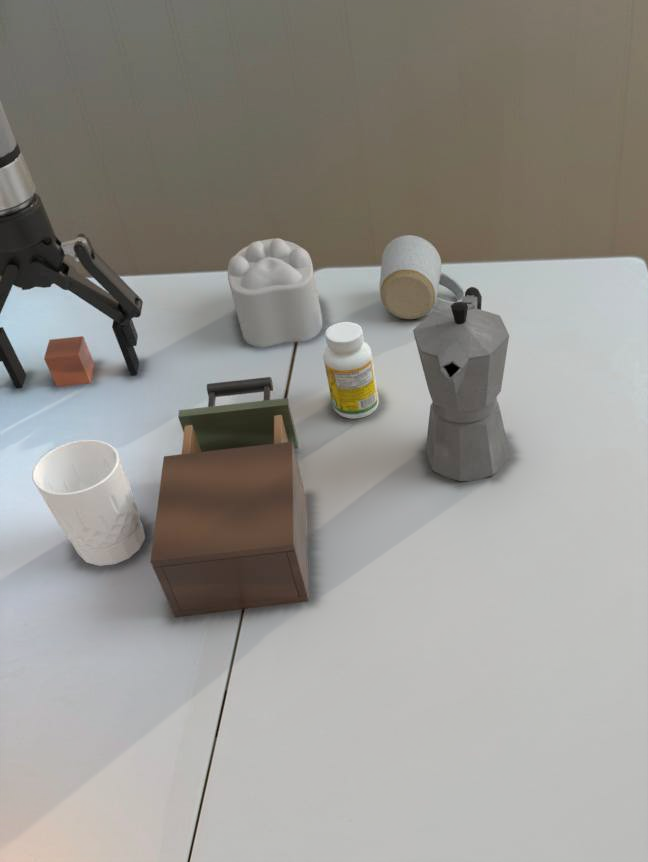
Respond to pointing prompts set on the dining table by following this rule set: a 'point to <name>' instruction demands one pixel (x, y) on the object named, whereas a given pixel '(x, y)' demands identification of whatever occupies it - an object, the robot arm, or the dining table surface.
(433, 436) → the coffeepot
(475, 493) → the dining table surface
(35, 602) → the dining table surface
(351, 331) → the supplement bottle
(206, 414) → the drawer
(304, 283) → the lumpy-topped squat cylinder
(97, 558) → the white cup
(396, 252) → the ceramic mug
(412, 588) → the dining table surface
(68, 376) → the block
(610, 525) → the dining table surface
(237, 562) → the cabinet
